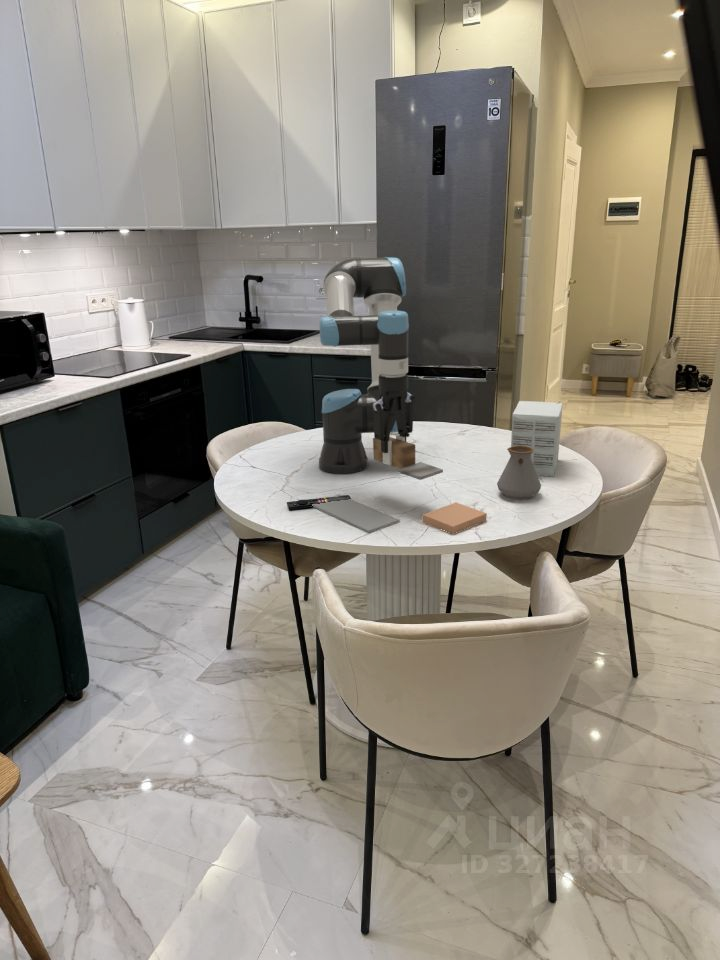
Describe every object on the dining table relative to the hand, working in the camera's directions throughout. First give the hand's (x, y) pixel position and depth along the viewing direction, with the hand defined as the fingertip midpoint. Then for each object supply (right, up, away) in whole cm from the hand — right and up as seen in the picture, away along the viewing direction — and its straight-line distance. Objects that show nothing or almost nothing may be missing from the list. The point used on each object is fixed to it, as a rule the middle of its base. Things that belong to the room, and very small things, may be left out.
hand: (393, 461), depth 177 cm
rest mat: (-11, -13, -7) cm, 18 cm away
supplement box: (+44, -1, +25) cm, 51 cm away
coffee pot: (+32, -11, -2) cm, 34 cm away
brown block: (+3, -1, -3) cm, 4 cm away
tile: (+11, -13, -10) cm, 20 cm away
